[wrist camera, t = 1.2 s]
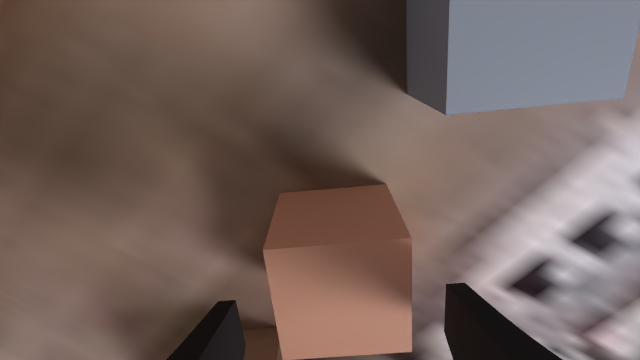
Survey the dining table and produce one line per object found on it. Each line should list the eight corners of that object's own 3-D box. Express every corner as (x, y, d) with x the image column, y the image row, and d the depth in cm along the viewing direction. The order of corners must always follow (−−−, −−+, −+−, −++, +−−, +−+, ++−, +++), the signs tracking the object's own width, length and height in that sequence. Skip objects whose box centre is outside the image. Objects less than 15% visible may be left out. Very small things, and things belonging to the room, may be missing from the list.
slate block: (526, 82, 14) (623, 98, 10) (406, 94, 15) (445, 115, 10) (542, -58, 13) (670, -120, 8) (405, -42, 13) (452, -95, 8)
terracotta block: (388, 272, 18) (412, 351, 13) (293, 279, 18) (282, 360, 13) (385, 183, 16) (411, 238, 11) (279, 192, 16) (262, 250, 12)
